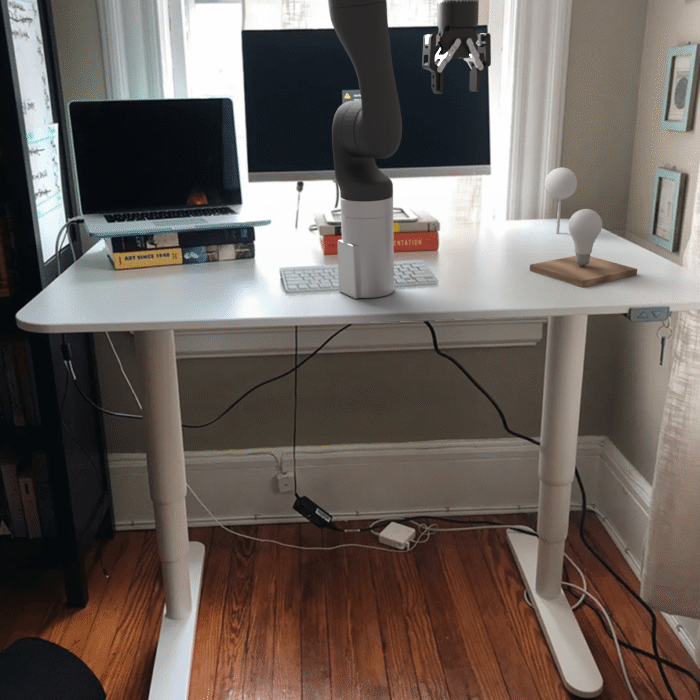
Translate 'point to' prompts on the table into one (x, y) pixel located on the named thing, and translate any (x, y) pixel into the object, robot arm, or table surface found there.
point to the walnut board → (583, 271)
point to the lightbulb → (584, 233)
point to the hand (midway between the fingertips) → (456, 92)
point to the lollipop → (560, 187)
